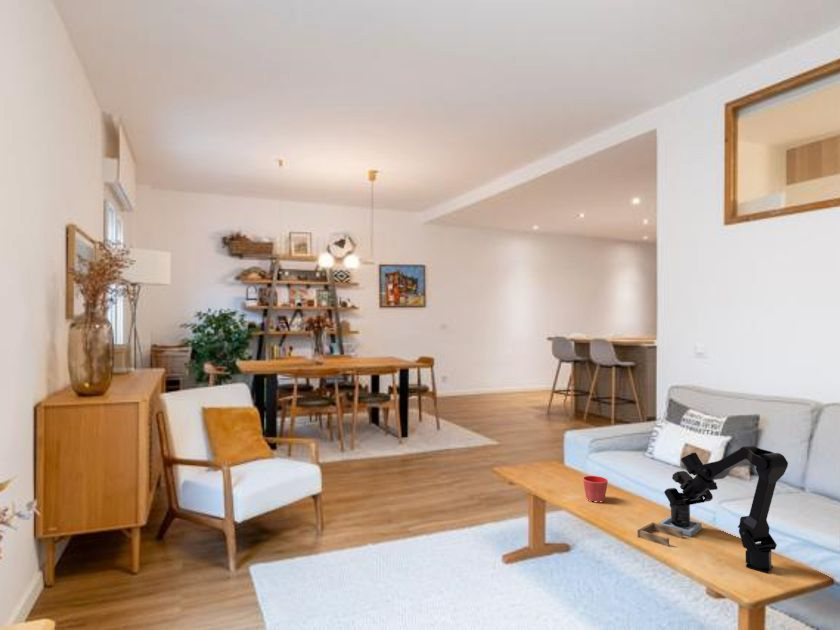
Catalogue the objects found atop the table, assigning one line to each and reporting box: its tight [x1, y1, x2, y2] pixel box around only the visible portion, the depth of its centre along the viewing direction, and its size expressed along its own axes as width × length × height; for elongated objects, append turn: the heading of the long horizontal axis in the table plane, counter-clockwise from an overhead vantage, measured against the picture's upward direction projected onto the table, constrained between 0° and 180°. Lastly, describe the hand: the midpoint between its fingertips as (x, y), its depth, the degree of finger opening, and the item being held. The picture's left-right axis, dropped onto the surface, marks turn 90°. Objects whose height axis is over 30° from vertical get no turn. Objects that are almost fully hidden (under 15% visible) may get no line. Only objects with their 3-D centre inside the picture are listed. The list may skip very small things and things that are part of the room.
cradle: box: [637, 522, 683, 547], centre depth 203 cm, size 12×12×2 cm
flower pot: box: [582, 475, 609, 503], centre depth 246 cm, size 11×11×10 cm
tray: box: [657, 515, 703, 538], centre depth 211 cm, size 12×12×2 cm
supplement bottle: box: [670, 499, 691, 527], centre depth 211 cm, size 7×7×12 cm
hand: (677, 505), depth 213 cm, fingers closed on supplement bottle, 7 cm apart
